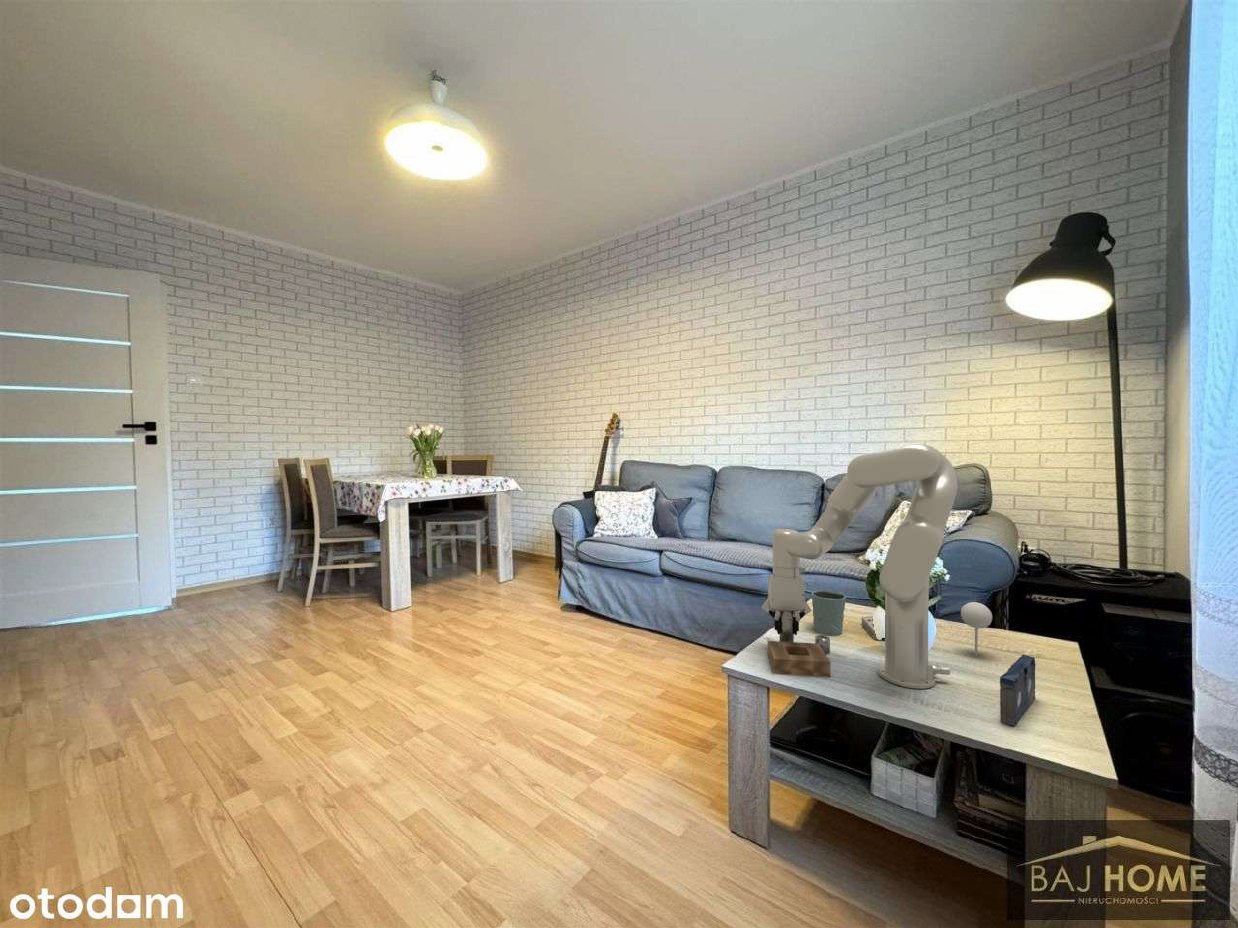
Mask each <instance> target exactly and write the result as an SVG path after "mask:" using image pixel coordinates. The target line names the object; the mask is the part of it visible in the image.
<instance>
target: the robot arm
mask: <svg viewBox="0 0 1238 928" xmlns="http://www.w3.org/2000/svg"><path fill="white" fill-rule="evenodd" d="M841 479H842V480H840V482H839V483H838V484H837V486H836V487H835V488H834V490H833V491H832V492H831V493H830V495H829V496H828V499H827V505H826V508H825V510H824V511H823V513H822V515H821V516H820V518H819V519H818V520H817V521H816V523H815V524H814V526H812V528H811V529H810V530H808V531H805V532H801V533H800V532H799V531H798V530H796V529H792V528H778V529H775V530H774V531H773V532H772V573H771V574H770V575H769V576H768V577H769V579H768V585H767V598H766V600H765V602H764V603H763V604H762V606H761V609H762V611H764V612H766V613H767V614H769V616H771V617H772V619H774V620H773V621H774V625H773V626H774V630H775V631H776V633H777V635H779V634H781V622H780V620H779V615H780V611H794V636H797V635H798V632H799V631H800V622H801V620H802V619H803V618H804V617H805V616H806V615H808V614H810V613H811V612H813V609H811V607H810V605H809V604H808V603H807V602H806V595H805V594H806V593H805V586H804V579H803V576H802V574H803V573H806V568H805V567H801V565H800V564H801V563H800V561H801V560H800V558H802V559H806V560H817V559H819V558H820V557H822V556H823V555H825V554H826V553H827V552H828V551H830V550H831V549H832V548H833V546H834V545H835V544H836V542H837V541H838V540H839V539H840V538H841V536H842V535H843V534H844V533H845V531H847V529H848V528H849V526H850V525H851V523H853V521H854V520H856V518H857V516H858V515H859V514H860V513H861V512H862V511H863V509H864V507H865V506H866V505H867V503H868V502H869V501H870V499H872V497H873V496H874V495H875V494H876V493H877V492H878V490H879V489H880V488H881V487H885V486H887V487H888V486H891V485H897V484H903V483H909V482H910V483H911V482H916V485H915V486H916V487H915V490H914V492H913V496H912V497H911V502H910V503H909V504H910V505H909V507H908V510H907V513H906V516H905V517H904V520H903V521H902V522H901V523H900V524H899V525H898V527H896V530H895V531H894V534H893V536H892V540H891V541H890V545H889V548H888V551H887V553H886V556H885V559H884V562H883V565H882V567H881V570H880V573H879V584H880V587H881V589H882V591H883V592H884V593H885V596H884V598H885V599H884V617H885V639H884V662H883V663H881V664H880V665H879V666H878V670H877V672H878V674H879V676H880V677H882V679H884V680H885V681H888V682H889V683H892V684H894V685H898V686H900V687H905V688H909V689H918V690H919V689H922V690H923V689H930V688H932V687H934V686H936V677H935V676H937V675H946V676H950V675H951V669H950V667H949V666H943V665H942V666H940V664H939V663H938V662H929V599H930V598H929V595H930V575H931V572H932V570H933V568H934V566H935V562H936V559H937V557H938V555H939V552H940V550H941V549H940V548H941V547H942V544H943V540H944V539H943V538H944V534H945V529H946V527H947V523H948V521H949V518H950V516H951V515H950V514H951V511H952V508H953V507H954V503H955V499H956V495H957V491H958V477H957V472H956V471H955V468H954V466H953V464H952V463H951V461H950V460H949V459H948V458H947V457H946V456H945V455H944V454H943V453H942V452H941V451H939V450H938V449H937V448H935V447H934V446H932V445H931V446H930V445H928V444H925V443H923V444H921V443H920V444H918V443H916V444H910V445H905V446H901V447H897V448H892V449H888V450H883V451H879V452H873V453H867V454H862V455H857V456H856V457H854V458H853V459H852V460H851V461H850V462H849V464H848V466H847V470H846V474H845V475H844V477H843V478H841Z"/></svg>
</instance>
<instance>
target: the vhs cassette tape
mask: <svg viewBox="0 0 1238 928" xmlns="http://www.w3.org/2000/svg"><path fill="white" fill-rule="evenodd" d="M1036 664H1037V663H1036V658H1035V657H1034V656H1031V655H1030V656H1029V655H1026V654H1022V655H1021V656H1020V657H1018V658H1017V660H1016V661H1015V662H1013V663H1012V664H1011V665H1010V667H1009V668H1008V669H1007V671H1006V672H1004V673H1002V675H1001V676H1000V677H999V687H1000V689H999V701H1000V702H999V705H1000V707H999V708H1000V709H999V710H1000V712H999V713H1000V717H999V718H1000V720H999V721H1000V723H1002V724H1004V725H1006V726H1010V727H1013V728H1016V726H1017V725H1018V724H1019V722H1020V720H1021V719H1022V718H1023V717H1024V715H1025V714H1026V713H1027V711H1028V710H1029V708H1030V707H1031V706H1032V704H1033V703H1034V701H1035V700H1036Z"/></svg>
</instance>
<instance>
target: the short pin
mask: <svg viewBox="0 0 1238 928" xmlns="http://www.w3.org/2000/svg"><path fill="white" fill-rule="evenodd" d="M814 643H818V644H820V646H821V648H822V649H823V651H824V652H825V654H826V655H829V654H830V653H831V639H830V636H827V635H823V634H821V635H820V634H819V635H815V636H814Z"/></svg>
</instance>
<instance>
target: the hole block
mask: <svg viewBox="0 0 1238 928" xmlns="http://www.w3.org/2000/svg"><path fill="white" fill-rule="evenodd" d="M767 656H769V657H768V659H770V660H769V662H771V663H770V665H772V666H771V668H773V669H772V671H773V674H774V675H787V676H802V677H803V676H805V677H821V678H831V677H832V676H831V675H832V674H831V660H830V659H829V657H828V655H827V654H825V652H824V651H823V649H822V648H821V646H820V644H818V643H815V642H812V643H811V642H795V641H794V642H780V641H778V640H776V641H775V640H767Z"/></svg>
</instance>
